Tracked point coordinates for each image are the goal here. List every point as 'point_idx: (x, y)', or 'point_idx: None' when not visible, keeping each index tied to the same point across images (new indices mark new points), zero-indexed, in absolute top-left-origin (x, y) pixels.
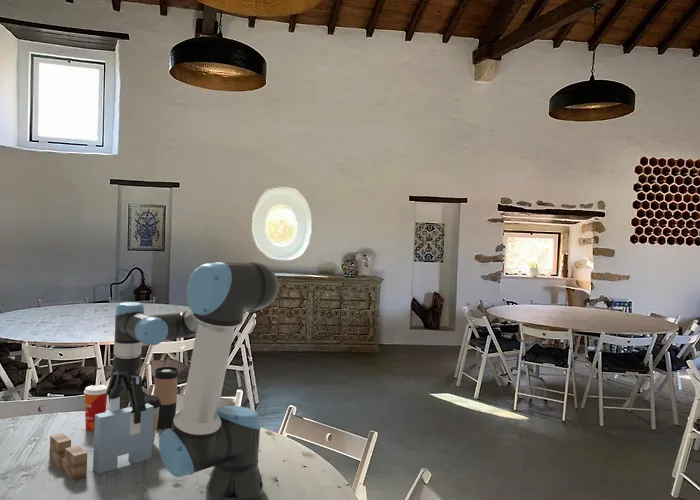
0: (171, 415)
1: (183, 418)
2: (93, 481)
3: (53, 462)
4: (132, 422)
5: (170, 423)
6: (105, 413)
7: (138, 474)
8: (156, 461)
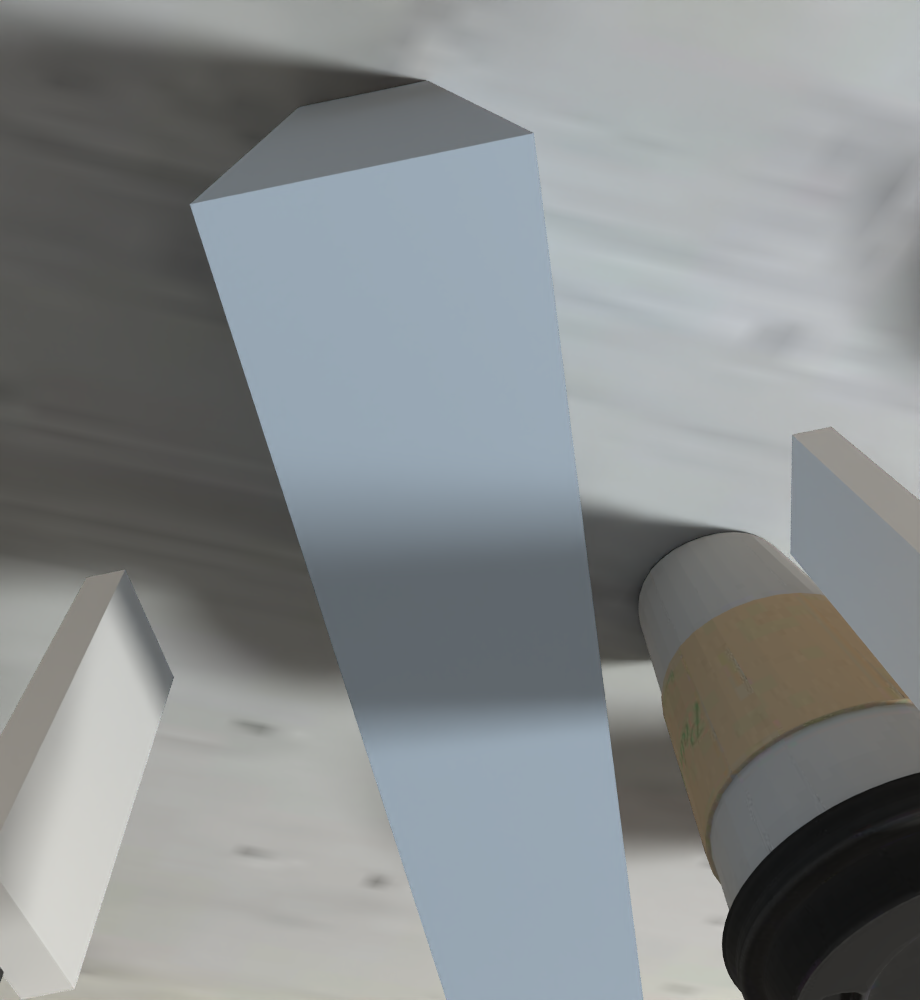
0: None
1: None
2: (122, 17)
3: None
4: (20, 722)
5: None
6: (482, 389)
7: (137, 439)
8: None
